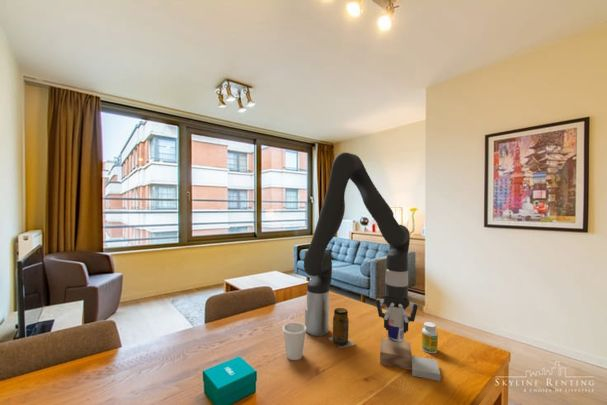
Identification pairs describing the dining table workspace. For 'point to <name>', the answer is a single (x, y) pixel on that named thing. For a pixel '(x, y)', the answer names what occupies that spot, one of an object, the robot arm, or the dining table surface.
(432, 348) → the supplement bottle
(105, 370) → the dining table surface
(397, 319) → the energy drink
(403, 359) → the walnut base
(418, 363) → the slate coaster
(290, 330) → the dixie cup
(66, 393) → the dining table surface
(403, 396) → the dining table surface
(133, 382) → the dining table surface
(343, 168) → the robot arm
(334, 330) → the condiment
